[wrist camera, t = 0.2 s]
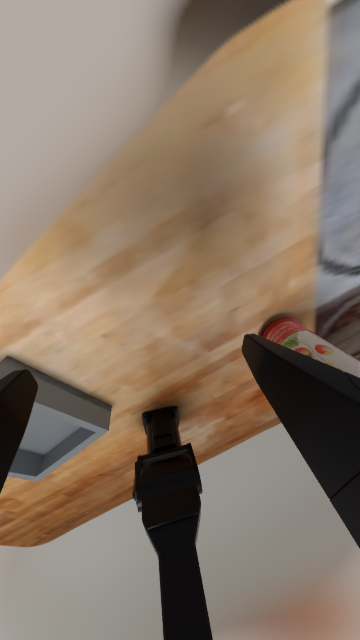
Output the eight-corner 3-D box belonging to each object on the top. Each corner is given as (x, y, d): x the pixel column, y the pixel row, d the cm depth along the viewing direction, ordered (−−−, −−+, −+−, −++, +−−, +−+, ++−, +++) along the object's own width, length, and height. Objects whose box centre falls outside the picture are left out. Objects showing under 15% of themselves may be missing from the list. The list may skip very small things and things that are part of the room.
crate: (111, 406, 30) (108, 430, 26) (48, 453, 32) (38, 481, 29) (7, 356, 22) (-17, 381, 18) (-66, 424, 24) (-98, 458, 21)
